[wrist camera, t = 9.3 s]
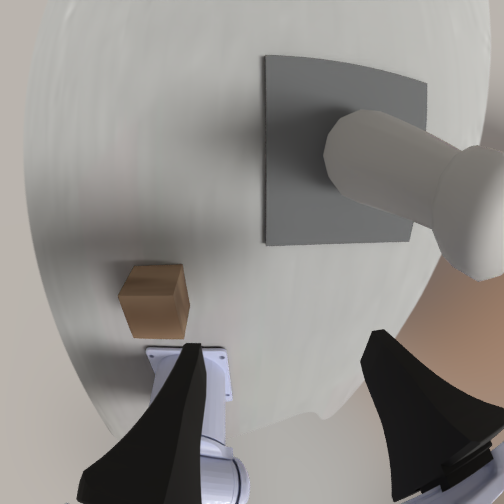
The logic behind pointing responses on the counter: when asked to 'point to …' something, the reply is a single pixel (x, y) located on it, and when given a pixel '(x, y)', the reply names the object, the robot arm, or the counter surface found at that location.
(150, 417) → the robot arm
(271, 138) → the rubber mat
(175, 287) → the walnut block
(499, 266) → the salt shaker
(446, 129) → the counter surface
